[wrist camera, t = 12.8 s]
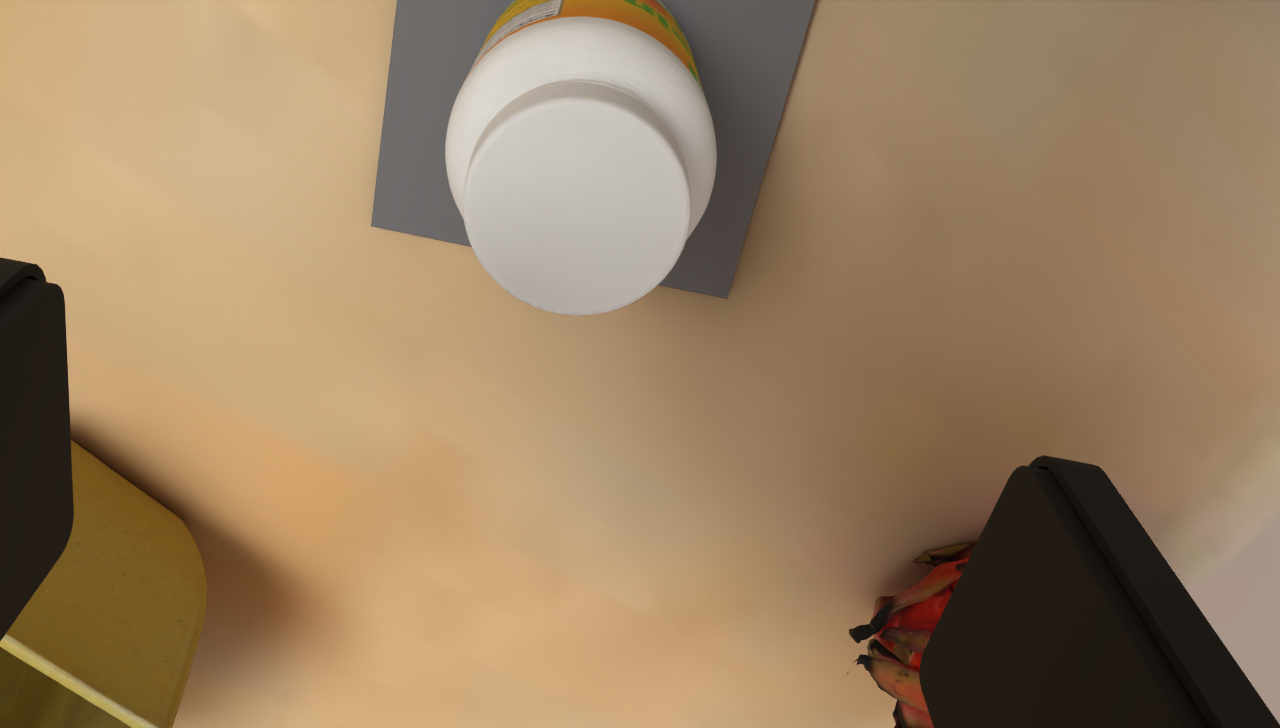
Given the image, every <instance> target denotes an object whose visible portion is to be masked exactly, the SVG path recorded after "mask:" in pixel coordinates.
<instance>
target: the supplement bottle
mask: <svg viewBox="0 0 1280 728" xmlns="http://www.w3.org/2000/svg"><path fill="white" fill-rule="evenodd" d="M445 159H446V169H447V176H448V181H449V185H450V189H451V192H452V195H453V198H454V200H455V203H456V205H457V207H458V209H459V211H460V213H461V215H462V217H463V219H464V224H465V229H466V232H467V236H468V239H469V241H470V244H471V246H472V249H473V251H474V252H475V254H476V256H477V258H478V260H479V261H480V263H481V264H482V266H483V267H484V269H485V270H486V271H487V272H488V274H489V275H490V276H491V277H492V278H493V280H494V281H495V282H497V283H498V284H499V285H500V286H501V287H502V288H503V289H504V290H506V291H507V292H508V293H510V294H511V295H512V296H514V297H516V298H517V299H519V300H521V301H523V302H525V303H527V304H529V305H531V306H533V307H536V308H539V309H541V310H545V311H548V312H552V313H556V314H563V315H578V316H580V315H594V314H600V313H606V312H609V311H613V310H616V309H619V308H621V307H624V306H626V305H629V304H631V303H633V302H635V301H637V300H639V299H640V298H642V297H643V296H644V295H646V294H647V293H649V292H650V291H651V290H653V289H654V288H655V287H656V286H657V285H658V284H659V283H660V282H661V281H662V280H663V279H664V278H665V277H666V276H667V274H668V273H669V272H670V271H671V269H672V268H673V267H674V265H675V263H676V262H677V260H678V258H679V256H680V254H681V252H682V250H683V248H684V246H685V243H686V240H687V239H688V238H689V236H690V235H691V233H692V232H693V230H694V229H695V227H696V226H697V224H698V222H699V221H700V219H701V217H702V216H703V214H704V212H705V210H706V207H707V205H708V202H709V199H710V196H711V193H712V189H713V185H714V180H715V173H716V162H717V150H716V138H715V132H714V127H713V121H712V117H711V114H710V110H709V107H708V104H707V101H706V98H705V95H704V92H703V89H702V85H701V82H700V79H699V76H698V72H697V69H696V66H695V62H694V59H693V55H692V52H691V49H690V46H689V44H688V42H687V39H686V37H685V35H684V33H683V31H682V29H681V27H680V25H679V24H678V22H677V21H676V19H675V18H674V16H673V15H672V14H671V12H670V11H669V10H668V9H667V8H666V7H665V6H664V4H663V3H662V2H661V1H660V0H514V1H513V2H512V3H511V4H510V5H509V6H508V7H507V8H506V9H505V11H504V12H503V13H502V15H501V16H500V17H499V19H498V20H497V21H496V23H495V24H494V26H493V28H492V30H491V31H490V33H489V35H488V37H487V39H486V41H485V43H484V45H483V46H482V48H481V50H480V52H479V54H478V56H477V58H476V60H475V62H474V64H473V66H472V68H471V70H470V72H469V74H468V76H467V78H466V79H465V81H464V83H463V85H462V87H461V89H460V91H459V93H458V95H457V98H456V100H455V103H454V105H453V108H452V111H451V115H450V119H449V123H448V128H447V134H446V145H445Z"/></svg>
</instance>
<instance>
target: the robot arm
mask: <svg viewBox="0 0 1280 728" xmlns="http://www.w3.org/2000/svg"><path fill="white" fill-rule="evenodd" d="M73 521H74V503H73V480H72V458H71V435H70V412H69V389H68V367H67V344H66V321H65V301H64V294H63V292H62V289H61V287H59V286H58V285H57V284H53V283H48V282H46V278H45V275H44V273H43V271H42V269H41V268H40V267H39V266H38V265H37V264H31V263H26V262H21V261H16V260H10V259H5V258H0V641H1V640H2V638H3V637H4V636H5V634H6V633H7V631H8V630H9V629H10V627H11V626H12V624H13V623H14V622H15V620H16V619H17V617H18V616H19V614H20V613H21V612H22V610H23V609H24V607H25V606H26V605H27V603H28V602H29V600H30V599H31V597H32V596H33V595H34V593H35V592H36V590H37V589H38V588H39V586H40V585H41V583H42V582H43V580H44V579H45V578H46V576H47V575H48V573H49V572H50V571H51V569H52V568H53V566H54V565H55V563H56V562H57V561H58V559H59V558H60V556H61V555H62V553H63V551H64V550H65V548H66V546H67V543H68V541H69V538H70V535H71V531H72V527H73ZM919 679H920V686H921V690H922V693H923V696H924V699H925V702H926V705H927V708H928V711H929V714H930V717H931V720H932V723H933V727H934V728H1280V725H1279V723H1278V722H1277V720H1276V719H1275V717H1274V716H1273V715H1272V713H1271V712H1270V710H1269V709H1268V707H1266V704H1265V703H1264V702H1263V700H1262V699H1261V697H1260V696H1259V694H1258V693H1257V691H1256V690H1255V689H1254V687H1253V686H1252V684H1251V683H1250V681H1249V680H1248V679H1247V677H1246V676H1245V674H1244V673H1243V671H1242V670H1241V668H1240V667H1239V666H1238V664H1237V663H1236V661H1235V660H1234V658H1233V657H1232V655H1231V654H1230V653H1229V651H1228V650H1227V648H1226V647H1225V645H1224V644H1223V643H1222V641H1221V640H1220V638H1219V637H1218V635H1217V634H1216V632H1215V631H1214V629H1213V628H1212V627H1211V625H1210V624H1209V622H1208V621H1207V619H1206V618H1205V616H1204V615H1203V614H1202V612H1201V611H1200V609H1199V608H1198V606H1197V605H1196V603H1195V602H1194V601H1193V599H1192V598H1191V596H1190V595H1189V593H1188V592H1187V590H1186V589H1185V588H1184V586H1183V585H1182V583H1181V582H1180V580H1179V579H1178V577H1177V576H1176V575H1175V573H1174V572H1173V570H1172V569H1171V567H1170V566H1169V564H1168V563H1167V562H1166V560H1165V559H1164V557H1163V556H1162V554H1161V553H1160V551H1159V550H1158V549H1157V547H1156V546H1155V544H1154V543H1153V541H1152V540H1151V538H1150V537H1149V536H1148V534H1147V533H1146V531H1145V530H1144V528H1143V527H1142V525H1141V524H1140V523H1139V521H1138V520H1137V518H1136V517H1135V515H1134V514H1133V512H1132V511H1131V510H1130V508H1129V507H1128V505H1127V504H1126V502H1125V501H1124V499H1123V498H1122V497H1121V495H1120V494H1119V492H1118V491H1117V489H1116V488H1115V486H1114V485H1113V484H1112V482H1111V481H1110V479H1109V478H1108V476H1107V475H1106V473H1105V472H1104V471H1103V470H1102V469H1101V468H1100V467H1099V466H1095V465H1092V464H1087V463H1081V462H1076V461H1071V460H1065V459H1060V458H1055V457H1050V456H1040V457H1037V458H1036V459H1035V460H1034V461H1033V462H1031V463H1030V465H1029V466H1020V467H1018V468H1017V469H1016V470H1014V471H1013V473H1012V474H1011V476H1010V478H1009V479H1008V481H1007V483H1006V485H1005V487H1004V490H1003V492H1002V494H1001V496H1000V498H999V500H998V502H997V504H996V506H995V508H994V510H993V512H992V514H991V516H990V518H989V520H988V522H987V524H986V526H985V528H984V530H983V532H982V534H981V536H980V538H979V540H978V542H977V544H976V546H975V548H974V550H973V552H972V554H971V556H970V558H969V560H968V562H967V564H966V566H965V568H964V570H963V572H962V574H961V576H960V578H959V580H958V582H957V584H956V586H955V588H954V590H953V592H952V594H951V597H950V599H949V601H948V603H947V605H946V607H945V609H944V611H943V613H942V615H941V617H940V619H939V621H938V623H937V625H936V627H935V629H934V631H933V633H932V635H931V637H930V639H929V641H928V643H927V645H926V647H925V649H924V651H923V654H922V657H921V662H920V669H919Z"/></svg>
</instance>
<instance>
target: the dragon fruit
mask: <svg viewBox="0 0 1280 728" xmlns="http://www.w3.org/2000/svg"><path fill="white" fill-rule="evenodd" d="M977 542H978V541H972V542H969V543H966V544H961V545H953V546H949V547H945V548H942V549H939V550H937V551H931V552H925V553H924V554H923V555H922V556H921V557H919V558H917V559H915V560H914V561H913V562H914V563H926V564H930V565H933V566H935V568H934V569H933V570H932V571H931V572H930V573H929V574H928V575H927V576H926V577H925V578H924V579H923V580H921V581H920V582H918V583H917V584H915V585H914V586H912V587H911V588H909V589H907V590H906V591H904V592H902V593H900V594H898V595H896V596H890V597H889V596H881V597H880V598H878V599H877V600H876V604H875V609H874V614H873V619H872V620H871V622H870V624H867V625H860V626H857V627H856V628H854V629H849V634H850V636H851V637H852V638H853V639H854V640H855V641H856V642H857V643H860V642H861V640H865V639H868V638H869V637H871V636H872V635H873V634H874V639H871V640H870V641H869V644H868V647H867V649H868V656H867V655H862V654H861V655H859V658H858V659H857V660H856V661H858V662H857V665H858V664H863V665H865V666H864V667H865V669H866V670H867V671H869V672H870V674H871V676H872V677H873V679H874V680H875V681H876V683H877V685H878V686H879V688H880V689H881V690H883V691H885V692H887V693H888V694H889V695H891V696H892V697H893V698H895V699H897V703H896V706H895V710H894V712H893V717H894V719H895V722H896V725H895V727H894V728H934V727H933V723H932V720H931V717H930V714H929V711H928V708H927V705H926V702H925V699H924V696H923V693H922V690H921V686H920V679H919V669H920V662H921V657H922V654H923V651H924V649H925V647H926V645H927V643H928V641H929V639H930V637H931V635H932V633H933V631H934V629H935V627H936V625H937V623H938V621H939V619H940V617H941V615H942V613H943V611H944V609H945V607H946V605H947V603H948V601H949V599H950V597H951V594H952V592H953V590H954V588H955V586H956V584H957V582H958V580H959V578H960V576H961V574H962V572H963V570H964V568H965V566H966V564H967V562H968V560H969V558H970V556H971V554H972V552H973V550H974V548H975V546H976V544H977ZM854 662H855V661H854ZM848 673H849V672H848ZM848 673H847V674H848Z"/></svg>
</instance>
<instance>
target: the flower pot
mask: <svg viewBox="0 0 1280 728" xmlns="http://www.w3.org/2000/svg"><path fill="white" fill-rule="evenodd" d="M71 458H72V480H73V503H74V521H73V527H72V531H71V535H70V538H69V541H68V543H67V546H66V548H65V550H64V551H63V553H62V555H61V556H60V558H59V559H58V561H57V562H56V563H55V565H54V566H53V568H52V569H51V571H50V572H49V573H48V575H47V576H46V578H45V579H44V580H43V582H42V583H41V585H40V586H39V588H38V589H37V590H36V592H35V593H34V595H33V596H32V597H31V599H30V600H29V602H28V603H27V605H26V606H25V607H24V609H23V610H22V612H21V613H20V614H19V616H18V617H17V619H16V620H15V622H14V623H13V624H12V626H11V627H10V629H9V630H8V631H7V633H6V634H5V636H4V637H3V638H2V640H1V641H0V728H172V726H173V723H174V720H175V717H176V714H177V711H178V708H179V705H180V701H181V698H182V695H183V691H184V688H185V685H186V681H187V678H188V675H189V671H190V668H191V665H192V661H193V658H194V654H195V651H196V648H197V645H198V641H199V638H200V635H201V631H202V627H203V623H204V619H205V614H206V607H207V582H206V573H205V569H204V564H203V561H202V558H201V555H200V552H199V549H198V547H197V545H196V542H195V540H194V538H193V537H192V535H191V533H190V531H189V530H188V528H187V526H186V525H185V523H184V522H183V521H182V520H181V519H180V518H179V517H177V516H176V515H175V514H173V513H172V512H171V511H169V510H168V509H166V508H165V507H164V506H162V505H161V504H159V503H158V502H157V501H155V500H154V499H152V498H151V497H150V496H148V495H147V494H146V493H144V492H143V491H141V490H140V489H138V488H137V487H135V486H134V485H133V484H131V483H130V482H128V481H127V480H126V479H124V478H123V477H121V476H120V475H119V474H117V473H116V472H114V471H113V470H112V469H110V468H109V467H108V466H106V465H105V464H104V463H102V462H101V461H100V460H98V459H97V458H96V457H94V456H93V455H91V454H90V453H89V452H87V451H86V450H85V449H83V448H82V447H80V446H79V445H78V444H76V443H75V442H73V441H72V440H71Z"/></svg>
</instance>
